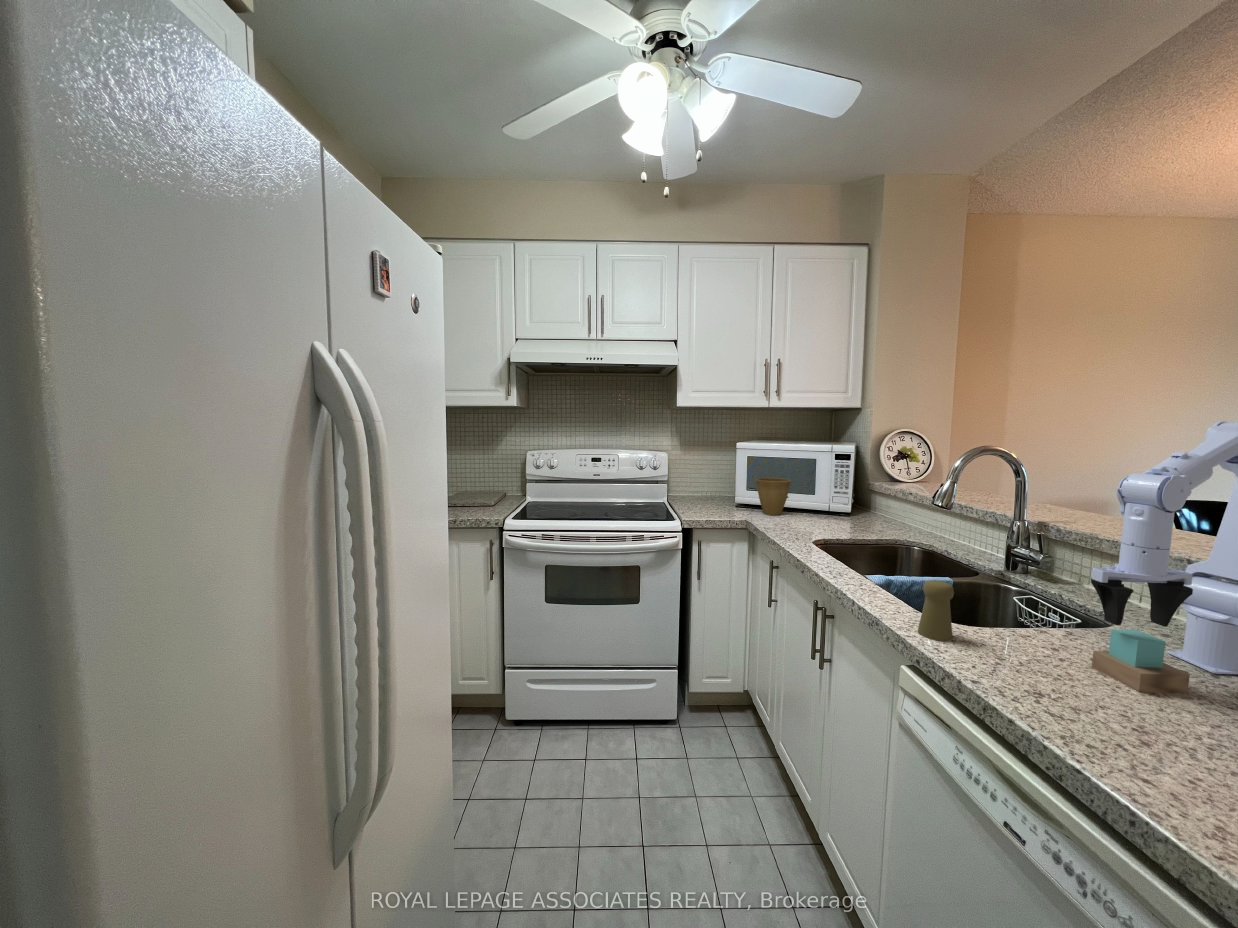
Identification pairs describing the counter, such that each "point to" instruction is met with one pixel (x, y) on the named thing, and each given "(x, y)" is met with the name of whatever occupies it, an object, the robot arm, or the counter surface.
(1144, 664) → the teal cube
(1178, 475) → the robot arm
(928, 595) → the cork
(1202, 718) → the counter surface
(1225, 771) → the counter surface
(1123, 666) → the walnut block
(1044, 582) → the counter surface
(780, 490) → the plant pot
